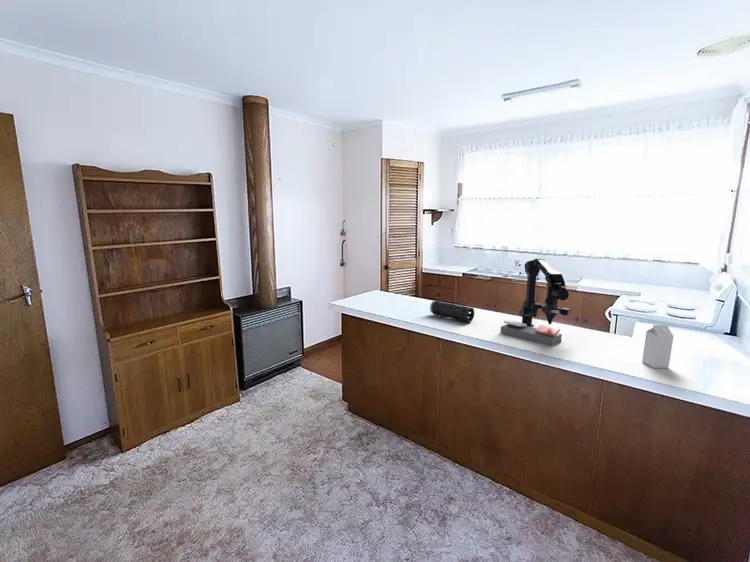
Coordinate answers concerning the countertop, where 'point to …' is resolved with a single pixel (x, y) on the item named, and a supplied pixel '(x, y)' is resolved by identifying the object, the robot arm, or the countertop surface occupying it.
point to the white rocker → (515, 323)
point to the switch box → (530, 334)
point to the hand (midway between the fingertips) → (549, 324)
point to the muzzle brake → (452, 311)
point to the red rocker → (547, 330)
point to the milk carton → (658, 346)
